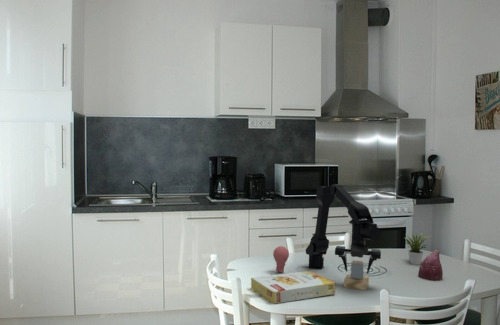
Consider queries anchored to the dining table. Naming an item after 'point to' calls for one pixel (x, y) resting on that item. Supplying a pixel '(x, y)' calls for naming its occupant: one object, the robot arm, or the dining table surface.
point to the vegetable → (431, 267)
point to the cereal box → (292, 286)
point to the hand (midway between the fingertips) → (357, 272)
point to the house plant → (415, 249)
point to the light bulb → (280, 257)
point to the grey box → (357, 269)
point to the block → (356, 282)
